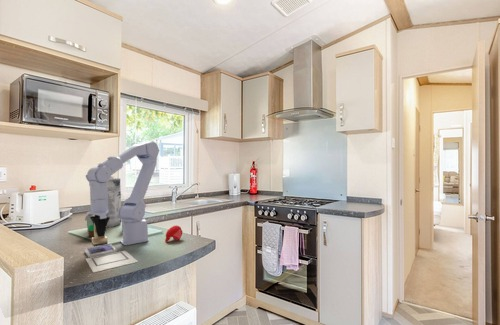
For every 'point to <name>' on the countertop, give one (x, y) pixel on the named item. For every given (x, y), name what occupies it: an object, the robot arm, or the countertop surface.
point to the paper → (110, 261)
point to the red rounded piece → (174, 233)
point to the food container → (90, 225)
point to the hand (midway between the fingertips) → (100, 235)
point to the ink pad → (100, 250)
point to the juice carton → (113, 201)
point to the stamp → (98, 239)
